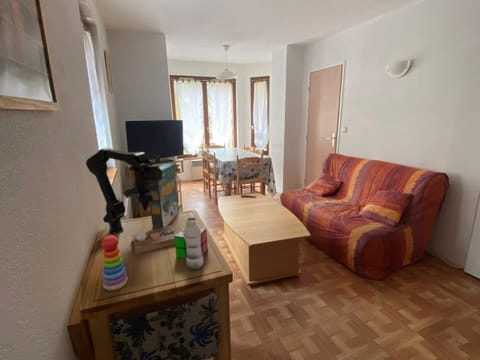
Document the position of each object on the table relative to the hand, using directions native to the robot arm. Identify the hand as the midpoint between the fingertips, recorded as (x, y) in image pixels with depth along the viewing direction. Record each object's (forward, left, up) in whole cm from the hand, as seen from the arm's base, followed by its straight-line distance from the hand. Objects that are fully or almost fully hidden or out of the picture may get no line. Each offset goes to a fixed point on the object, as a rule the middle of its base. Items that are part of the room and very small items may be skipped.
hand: (145, 210), depth 123 cm
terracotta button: (+9, +2, -13) cm, 16 cm away
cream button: (+9, -4, -11) cm, 15 cm away
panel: (+9, +2, -13) cm, 16 cm away
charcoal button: (+9, +8, -13) cm, 17 cm away
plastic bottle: (+38, +12, -13) cm, 42 cm away
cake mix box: (-14, +12, -13) cm, 23 cm away
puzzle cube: (+28, +14, -13) cm, 34 cm away
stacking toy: (+34, -16, -13) cm, 40 cm away
